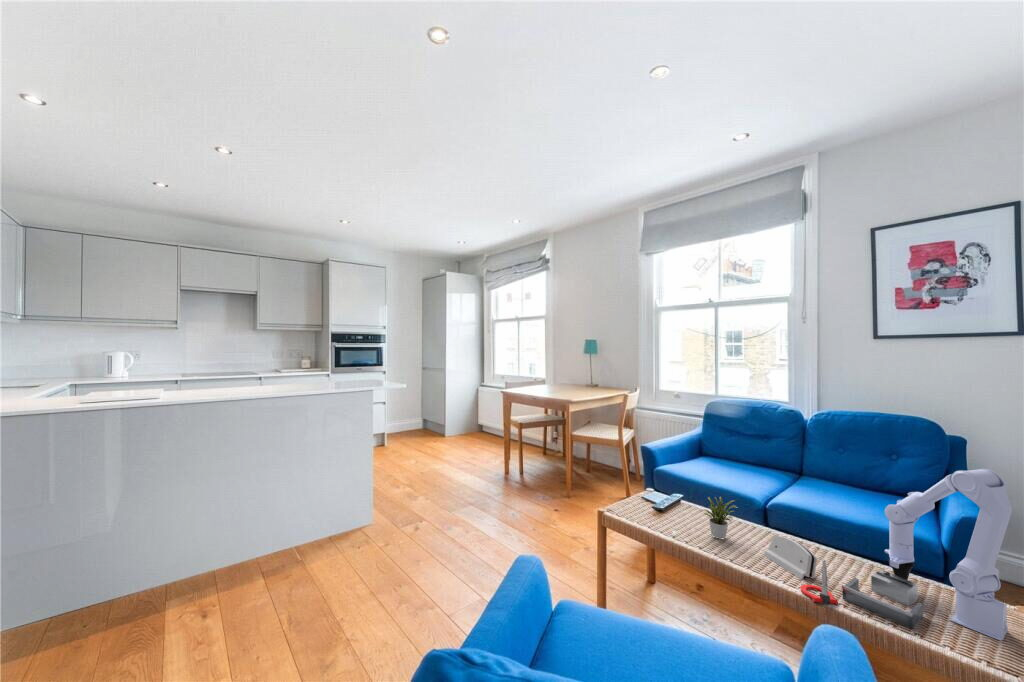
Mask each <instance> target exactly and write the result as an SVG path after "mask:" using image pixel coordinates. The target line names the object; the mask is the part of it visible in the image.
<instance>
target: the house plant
mask: <svg viewBox="0 0 1024 682" xmlns="http://www.w3.org/2000/svg"><path fill="white" fill-rule="evenodd" d="M707 499H708V500H709V502H710V505H709V509H710V511H709V510H708V509H706V508H705V509H704V508H703V509H704V511H706V512H704V513H703V515H705V516H708V517H710V518H709V520H708V522H709V527H710V534H712V535H713V536H715V537H718V538H725V537H727V531H728V526H729V522H728V521H730V522H732V520H733V516H731V515H729V514H731V513H732V512H734V510H731V511H730V509H731V508H735V509H736V508H739V507H738V506H737V505H734V504H733V505H730V504H732V502H736V501H737V500H730V501H728V502H727V503H723V499H722V496H719V500H718V499H717V497H714V499H715V500H716V505H715V502H714V501H713V500H712V499H711V497H710V496H707ZM729 505H730V506H729ZM727 507H728V508H727ZM712 535H711V536H712ZM725 539H726V538H725Z"/></svg>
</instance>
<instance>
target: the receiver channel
mask: <svg viewBox="0 0 1024 682" xmlns="http://www.w3.org/2000/svg"><path fill="white" fill-rule="evenodd" d="M859 581H860V580H859V578H857V577H854V578H852V579H851V580H850V581H849V582H847V583H846V584H845V585H843V584H842V585H841V589H842V600H844V601H847V602H849V603H852V604H853V605H856V606H858V607H860V608H864V609H865V610H868V611H870V612H873V613H875V614H877V615H879V616H882V617H884V618H886V619H887V620H888V619H889V620H891V621H893V622H896V623H898V624H901V625H902V626H904V627H907V628H909V629H912V630H913V629H914V628H915V626H916V625H917V624H918V623H919V622H920V621H921V620H922V619H923V617H924V604H923V603H920V602H919V601H918V602H917V603H916V605H915V606H913V608H912V609H911V610H910V611H907V610H904V609H902V608H899V607H897V606H895V605H892V604H890V603H887V602H885V601H883V600H880V599H878V598H875V597H873V596H871V595H868V594H866V593H864V592H860V591H859V589H860V588H859V587H860V586H859V585H860V584H859Z"/></svg>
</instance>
